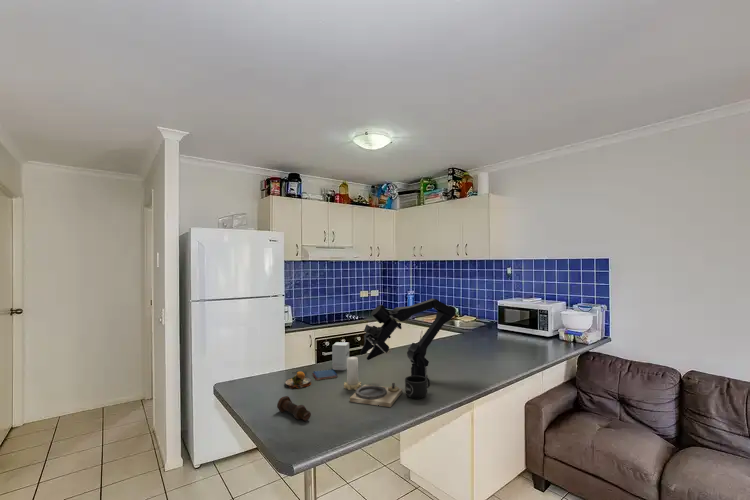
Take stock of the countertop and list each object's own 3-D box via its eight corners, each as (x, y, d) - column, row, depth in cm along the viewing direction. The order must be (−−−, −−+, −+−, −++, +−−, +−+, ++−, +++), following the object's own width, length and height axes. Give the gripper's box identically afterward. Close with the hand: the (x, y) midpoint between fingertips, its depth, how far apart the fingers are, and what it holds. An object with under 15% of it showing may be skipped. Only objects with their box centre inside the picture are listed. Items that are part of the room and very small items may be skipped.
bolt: (305, 428, 125) (281, 414, 135) (316, 416, 128) (291, 403, 139) (299, 416, 123) (274, 403, 133) (309, 404, 126) (285, 392, 136)
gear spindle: (364, 384, 162) (363, 356, 162) (357, 390, 154) (357, 361, 155) (348, 383, 164) (348, 355, 165) (340, 388, 157) (340, 359, 157)
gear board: (402, 392, 152) (401, 382, 152) (390, 407, 137) (390, 395, 137) (364, 387, 158) (364, 377, 158) (349, 401, 143) (349, 390, 143)
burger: (297, 378, 172) (297, 363, 172) (316, 382, 166) (316, 366, 166) (279, 386, 162) (278, 369, 162) (298, 391, 156) (298, 373, 156)
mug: (415, 402, 141) (415, 384, 141) (400, 395, 149) (400, 378, 149) (437, 395, 148) (437, 377, 148) (422, 389, 156) (421, 372, 156)
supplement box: (345, 370, 183) (345, 345, 183) (331, 369, 184) (331, 345, 185) (349, 366, 190) (349, 342, 190) (336, 365, 192) (336, 341, 192)
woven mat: (311, 375, 178) (311, 371, 178) (332, 372, 182) (332, 368, 182) (315, 381, 168) (315, 377, 168) (338, 378, 172) (338, 374, 172)
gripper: (367, 315, 173) (345, 340, 168) (382, 321, 155) (358, 350, 151) (383, 330, 175) (361, 356, 171) (399, 338, 158) (375, 366, 154)
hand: (363, 356), depth 162 cm, fingers open, 9 cm apart
